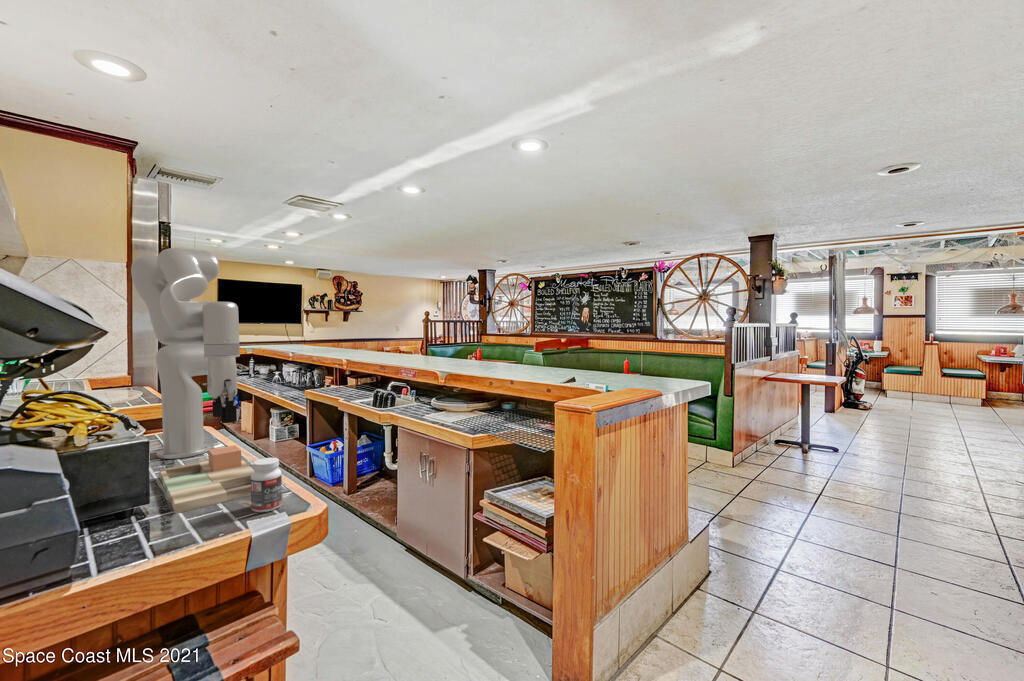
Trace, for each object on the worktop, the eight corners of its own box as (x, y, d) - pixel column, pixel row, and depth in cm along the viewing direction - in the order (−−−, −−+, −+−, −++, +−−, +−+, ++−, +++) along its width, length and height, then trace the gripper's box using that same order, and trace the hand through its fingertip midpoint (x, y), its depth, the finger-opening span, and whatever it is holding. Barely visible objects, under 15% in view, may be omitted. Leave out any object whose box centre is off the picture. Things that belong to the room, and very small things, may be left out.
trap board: (159, 477, 111) (159, 469, 111) (238, 462, 122) (238, 455, 122) (175, 513, 91) (174, 504, 91) (267, 491, 103) (267, 483, 103)
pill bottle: (268, 514, 91) (267, 466, 91) (244, 511, 92) (243, 464, 92) (288, 503, 97) (287, 457, 96) (265, 500, 98) (264, 455, 97)
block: (208, 465, 114) (208, 449, 114) (235, 460, 118) (235, 445, 118) (213, 471, 110) (213, 455, 110) (241, 465, 114) (241, 450, 114)
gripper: (197, 350, 116) (200, 416, 117) (211, 353, 103) (214, 427, 104) (231, 349, 121) (233, 412, 122) (248, 352, 109) (250, 422, 109)
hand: (224, 419), depth 113 cm, fingers open, 9 cm apart
